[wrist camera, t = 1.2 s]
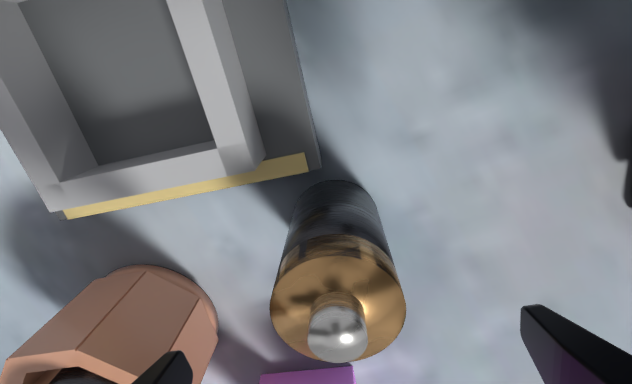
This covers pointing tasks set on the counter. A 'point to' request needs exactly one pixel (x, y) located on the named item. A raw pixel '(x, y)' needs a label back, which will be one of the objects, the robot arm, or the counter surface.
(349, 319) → the cell
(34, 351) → the cup
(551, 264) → the counter surface
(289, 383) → the bracket
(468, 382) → the counter surface
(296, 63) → the cradle
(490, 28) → the counter surface
